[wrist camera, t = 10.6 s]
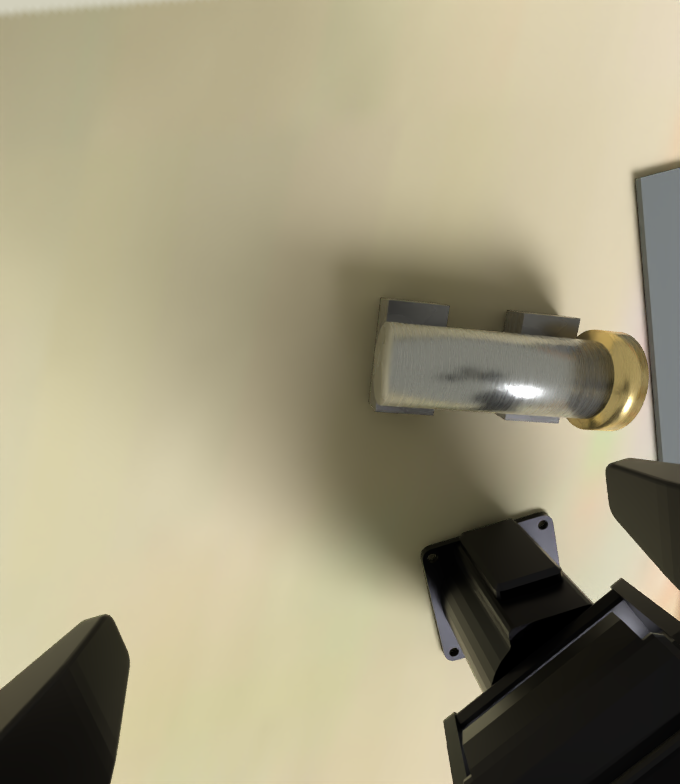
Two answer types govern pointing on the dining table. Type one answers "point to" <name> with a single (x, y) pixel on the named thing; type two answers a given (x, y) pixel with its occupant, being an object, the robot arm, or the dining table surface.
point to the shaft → (506, 368)
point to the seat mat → (662, 300)
